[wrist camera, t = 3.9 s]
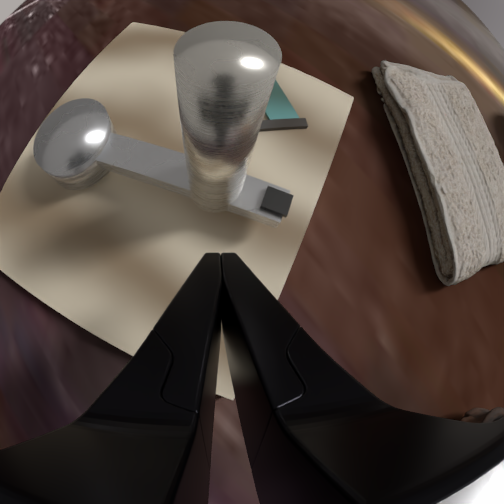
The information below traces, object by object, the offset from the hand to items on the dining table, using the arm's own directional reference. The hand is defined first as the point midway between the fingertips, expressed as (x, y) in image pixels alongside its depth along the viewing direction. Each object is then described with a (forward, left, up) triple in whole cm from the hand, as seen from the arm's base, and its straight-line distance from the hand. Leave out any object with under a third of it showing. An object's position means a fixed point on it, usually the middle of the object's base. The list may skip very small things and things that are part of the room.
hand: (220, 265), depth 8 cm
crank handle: (+4, +5, -6) cm, 9 cm away
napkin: (+5, +6, -7) cm, 11 cm away
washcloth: (+16, -13, -8) cm, 22 cm away
